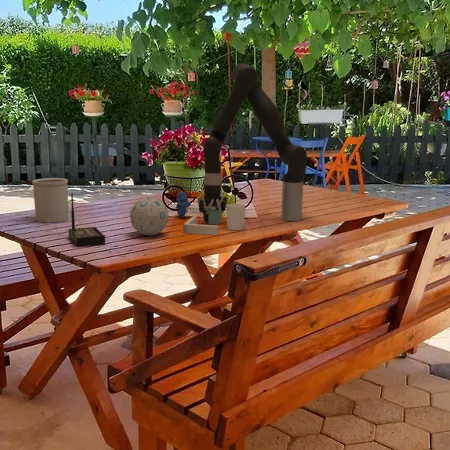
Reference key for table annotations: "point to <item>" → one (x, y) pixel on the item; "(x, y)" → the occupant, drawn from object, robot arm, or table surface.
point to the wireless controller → (84, 234)
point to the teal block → (214, 216)
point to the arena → (199, 228)
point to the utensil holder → (51, 199)
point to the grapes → (182, 204)
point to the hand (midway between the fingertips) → (212, 221)
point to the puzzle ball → (149, 216)
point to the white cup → (235, 216)
